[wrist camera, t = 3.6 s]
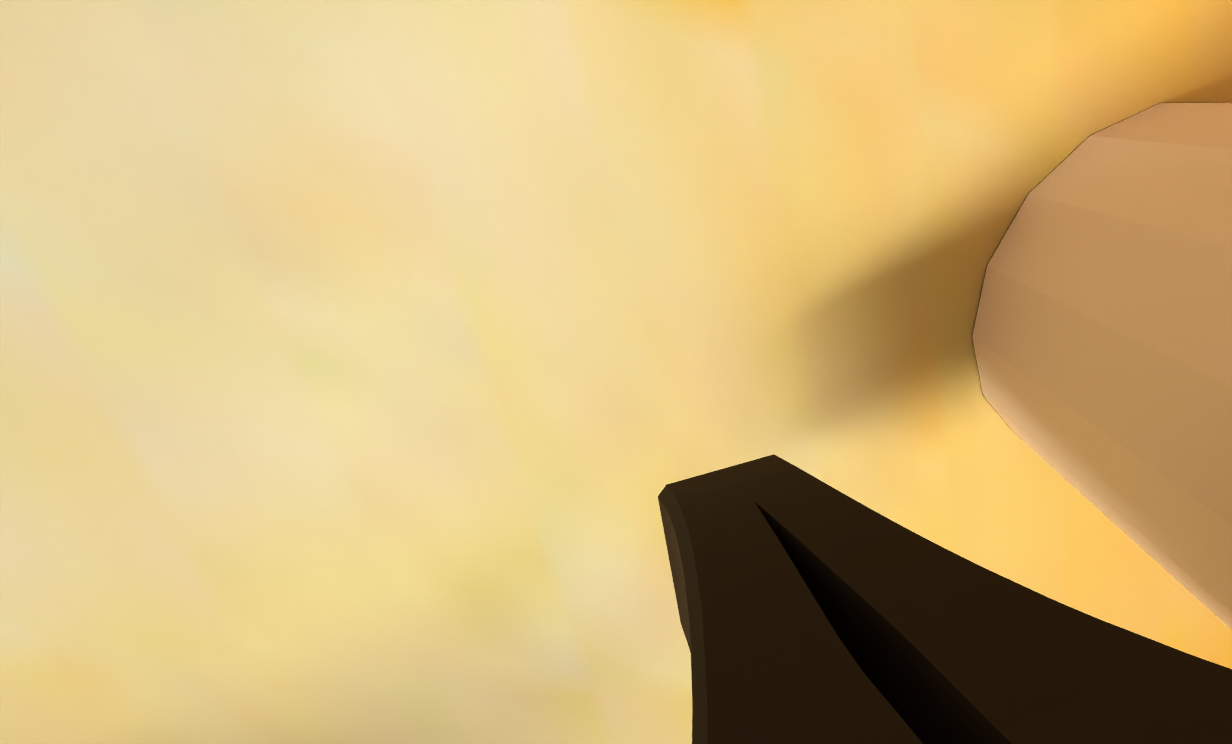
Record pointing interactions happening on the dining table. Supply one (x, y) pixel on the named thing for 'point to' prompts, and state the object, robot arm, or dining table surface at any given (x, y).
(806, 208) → the dining table surface
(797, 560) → the robot arm
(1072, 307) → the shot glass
